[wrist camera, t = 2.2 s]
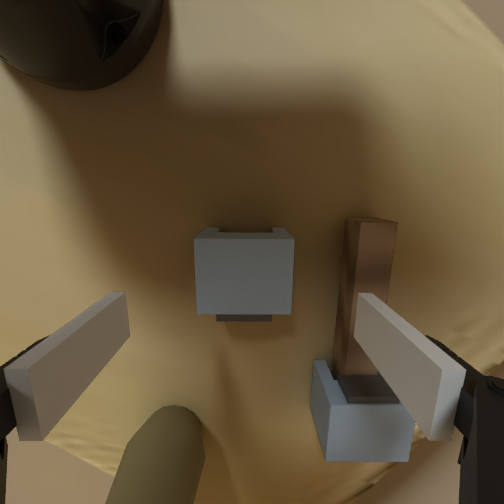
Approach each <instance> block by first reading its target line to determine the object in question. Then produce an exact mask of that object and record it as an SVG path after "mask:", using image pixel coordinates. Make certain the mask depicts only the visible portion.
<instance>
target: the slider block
mask: <svg viewBox="0 0 504 504" xmlns="http://www.w3.org/2000/svg"><path fill="white" fill-rule="evenodd" d="M310 408H311V412H312V415H313V419H314V423H315V426H316V430H317V433H318V437H319V440H320V444H321V448H322V451H323V455H324V458H325V462H408V459H409V453H410V448H411V443H412V438H413V432H414V427H415V420H414V419H413V418H412V416H411V415H410V414H409V412H408V411H407V409H406V408H405V407H404V405H403V404H402V403H401V401H400V400H399V398H398V397H397V396H396V394H395V393H394V392H393V390H392V389H391V387H390V386H389V385H388V383H387V382H386V381H385V379H384V378H383V376H382V375H381V374H380V372H379V371H378V370H377V375H338V380H334V379H333V377H332V375H331V373H330V370H329V368H328V366H327V364H326V361H325V360H314V363H313V377H312V390H311V404H310Z"/></svg>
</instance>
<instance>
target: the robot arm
mask: <svg viewBox="0 0 504 504" xmlns="http://www.w3.org/2000/svg"><path fill="white" fill-rule="evenodd" d="M162 4H163V0H0V59H2V60H3V61H5V62H6V63H8V64H9V65H11V66H12V67H14V68H16V69H18V70H20V71H22V72H24V73H26V74H27V75H29V76H31V77H33V78H35V79H37V80H39V81H41V82H43V83H46V84H48V85H51V86H54V87H58V88H62V89H68V90H92V89H97V88H101V87H104V86H107V85H110V84H112V83H114V82H116V81H118V80H119V79H121V78H123V77H124V76H125V75H127V74H128V73H129V72H130V71H132V70H133V69H134V68H135V67H136V66H137V65H138V63H139V62H140V61H141V60H142V59H143V57H144V56H145V54H146V53H147V51H148V49H149V48H150V46H151V44H152V42H153V40H154V37H155V35H156V32H157V29H158V26H159V22H160V18H161V12H162ZM129 337H130V330H129V320H128V310H127V300H126V292H116V291H112V292H110V293H109V294H108V295H106V296H105V297H103V298H102V299H101V300H99V301H98V302H96V303H95V304H94V305H92V306H91V307H89V308H88V309H87V310H85V311H84V312H82V313H81V314H80V315H78V316H77V317H75V318H74V319H73V320H71V321H70V322H68V323H67V324H66V325H64V326H63V327H61V328H60V329H59V330H57V331H56V332H54V333H53V334H52V335H49V336H47V337H45V338H43V339H41V340H38V341H36V342H35V343H34V344H32V345H31V346H29V347H28V348H26V350H23V351H22V352H21V353H19V354H18V355H17V357H13V358H12V359H11V360H9V361H8V362H6V363H5V364H3V365H2V366H0V504H5V494H6V473H7V453H8V452H7V451H8V444H7V440H6V436H7V435H8V434H9V433H10V432H11V431H12V430H13V429H14V428H15V427H17V432H18V436H19V440H20V441H43V440H44V438H45V437H46V436H47V435H48V434H49V432H50V431H51V430H52V429H53V428H54V426H55V425H56V424H57V423H58V422H59V420H60V419H61V418H62V417H63V416H64V414H65V413H66V412H67V411H68V410H69V408H70V407H71V406H72V405H73V404H74V403H75V401H76V400H77V399H78V398H79V397H80V395H81V394H82V393H83V392H84V391H85V389H86V388H87V387H88V386H89V385H90V383H91V382H92V381H93V380H94V379H95V377H96V376H97V375H98V374H99V373H100V371H101V370H102V369H103V368H104V367H105V365H106V364H107V363H108V362H109V361H110V359H111V358H112V357H113V356H114V355H115V354H116V352H117V351H118V350H119V349H120V348H121V346H122V345H123V344H124V343H125V342H126V340H127V339H128V338H129ZM354 338H355V339H356V341H357V342H358V343H359V345H360V346H361V348H362V349H363V350H364V352H365V353H366V354H367V356H368V357H369V359H370V360H371V361H372V363H373V364H374V365H375V367H376V368H377V370H378V371H379V372H380V374H381V375H382V376H383V378H384V379H385V381H386V382H387V383H388V385H389V386H390V387H391V389H392V390H393V392H394V393H395V394H396V396H397V397H398V398H399V400H400V401H401V403H402V404H403V405H404V407H405V408H406V409H407V411H408V412H409V414H410V415H411V416H412V418H413V419H414V420H415V422H416V423H417V425H418V426H419V427H420V429H421V430H422V431H423V433H424V434H425V436H426V437H427V438H428V440H451V439H452V434H453V430H454V425H455V426H456V427H457V428H458V429H459V431H460V432H461V433H462V434H463V435H464V437H463V441H462V445H461V450H460V454H459V459H458V464H460V465H461V468H460V488H459V504H504V379H501V378H497V377H493V376H483V375H482V374H481V373H480V372H478V371H477V370H476V369H474V368H473V367H472V366H471V365H469V364H468V363H467V362H465V361H464V360H463V359H462V358H460V357H458V355H456V354H455V353H454V352H453V351H450V349H449V348H447V347H446V346H445V345H444V344H442V343H441V342H439V341H437V340H435V339H434V338H432V337H430V336H428V335H423V334H422V333H420V332H419V331H418V330H417V329H415V328H414V327H413V326H412V325H411V324H409V323H408V322H407V321H406V320H404V319H403V318H402V317H401V316H399V315H398V314H397V313H396V312H395V311H393V310H392V309H391V308H390V307H388V306H387V305H386V304H385V303H384V302H382V301H381V300H380V299H379V298H377V297H376V296H375V295H374V294H372V293H358V301H357V310H356V320H355V329H354Z"/></svg>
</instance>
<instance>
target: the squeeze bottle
mask: <svg viewBox="0 0 504 504" xmlns="http://www.w3.org/2000/svg"><path fill="white" fill-rule="evenodd" d="M204 461H205V454H204V447H203V441H202V434H201V428H200V424H199V420H198V419H197V417H196V416H195V415H194V413H193V412H191V411H189V410H187V409H186V408H184V407H178V406H168V407H163V408H161V409H159V410H158V411H156V412H155V413H154V414H153V415H152V416H151V417H150V418H149V419H148V420H147V421H146V422H145V423H144V425H143V426H142V427H141V428H140V429H139V430H138V431H137V432H136V433H135V434H134V436H133V437H132V438H131V440H130V441H129V442H128V443H127V446H126V449H125V451H124V454H123V457H122V460H121V462H120V465H119V468H118V470H117V473H116V476H115V479H114V481H113V484H112V487H111V489H110V492H109V495H108V498H107V500H106V503H105V504H193V502H194V499H195V495H196V491H197V487H198V483H199V480H200V476H201V472H202V468H203V464H204Z"/></svg>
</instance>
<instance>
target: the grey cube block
mask: <svg viewBox="0 0 504 504" xmlns="http://www.w3.org/2000/svg"><path fill="white" fill-rule="evenodd" d="M294 246H295V239H294V238H293V237H292V236H291V235H290V234H289V233H288V231H287V230H286V229H285V228H272V233H245V232H219V227H206V228H205V229H204V230H203V231H202V232H201V233H199V234H198V235H197V236H196V237H195V238H194V262H195V285H196V309H197V314H216V321H272V315H291V308H292V287H293V266H294Z"/></svg>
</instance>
